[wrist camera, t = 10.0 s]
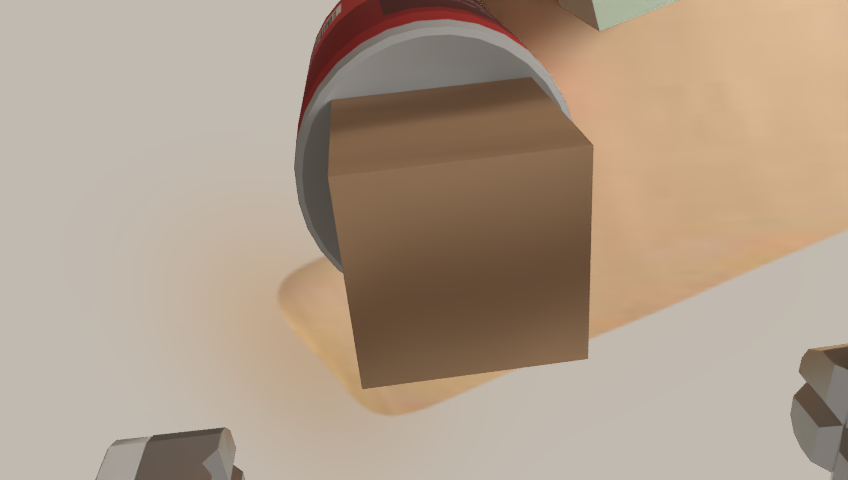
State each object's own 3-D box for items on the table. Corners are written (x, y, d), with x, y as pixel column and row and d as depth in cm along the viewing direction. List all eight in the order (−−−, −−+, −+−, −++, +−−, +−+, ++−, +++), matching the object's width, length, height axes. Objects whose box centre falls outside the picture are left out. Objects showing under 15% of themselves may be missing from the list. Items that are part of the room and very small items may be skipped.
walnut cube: (331, 99, 18) (327, 176, 13) (531, 77, 18) (593, 145, 13) (357, 274, 20) (362, 389, 16) (534, 251, 20) (587, 358, 16)
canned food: (339, 186, 30) (338, 333, 21) (283, -6, 27) (249, 66, 17) (514, 144, 30) (595, 272, 21) (482, -53, 27) (563, -10, 17)
